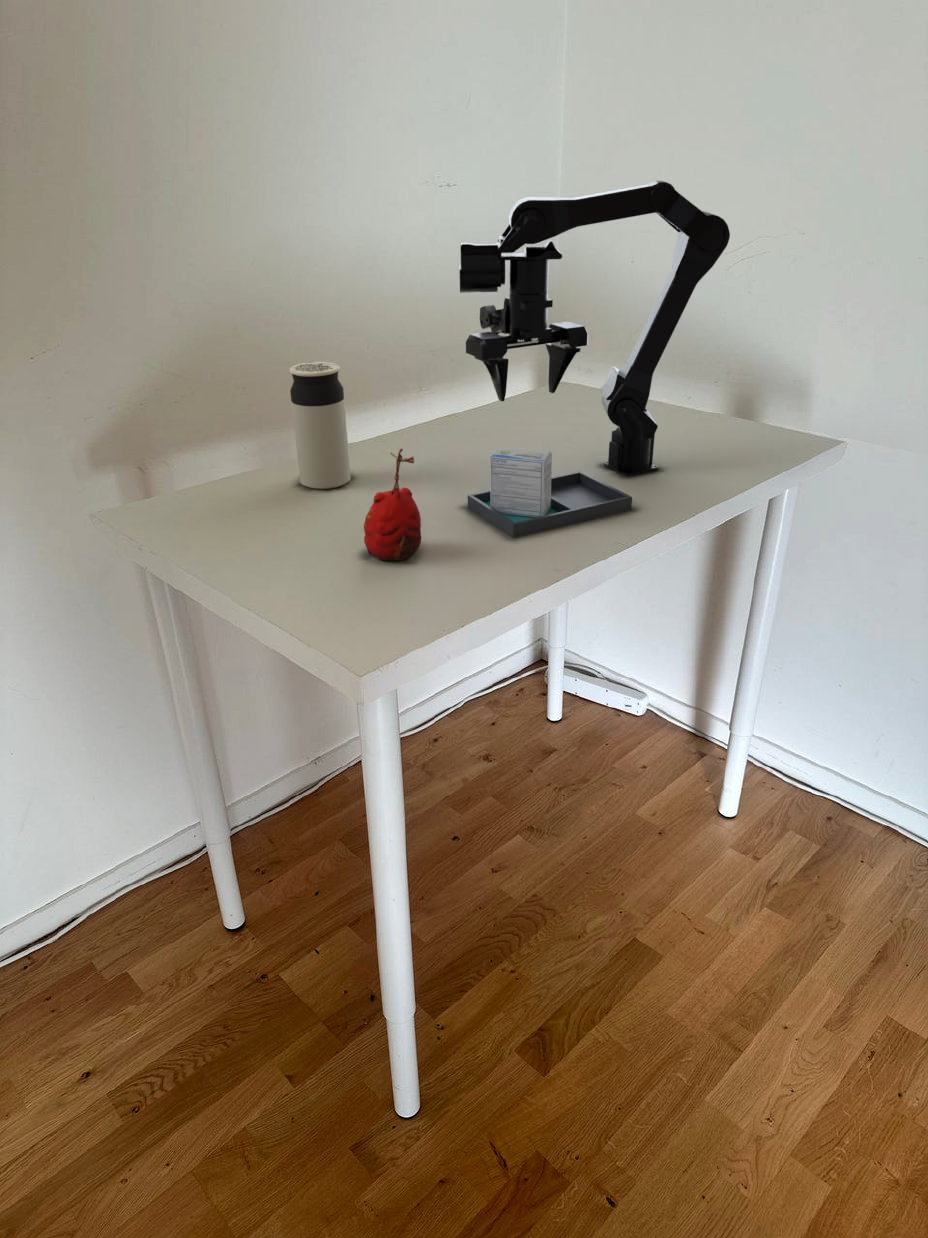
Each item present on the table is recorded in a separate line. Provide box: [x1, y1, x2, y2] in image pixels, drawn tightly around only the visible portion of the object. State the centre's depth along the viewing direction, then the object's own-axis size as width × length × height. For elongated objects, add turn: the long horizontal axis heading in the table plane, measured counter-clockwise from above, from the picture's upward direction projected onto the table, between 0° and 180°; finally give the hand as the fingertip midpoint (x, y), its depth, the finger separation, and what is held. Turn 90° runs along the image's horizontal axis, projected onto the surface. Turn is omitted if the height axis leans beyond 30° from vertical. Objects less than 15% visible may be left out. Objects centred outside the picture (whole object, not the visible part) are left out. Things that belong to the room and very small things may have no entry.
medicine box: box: [489, 446, 553, 517], centre depth 128 cm, size 8×4×9 cm, turn 70°
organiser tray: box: [467, 470, 633, 539], centre depth 132 cm, size 20×13×2 cm, turn 118°
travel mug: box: [289, 361, 352, 490], centre depth 140 cm, size 8×8×18 cm
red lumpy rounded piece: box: [363, 448, 422, 562], centre depth 116 cm, size 8×7×15 cm
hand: (526, 396), depth 142 cm, fingers open, 9 cm apart
